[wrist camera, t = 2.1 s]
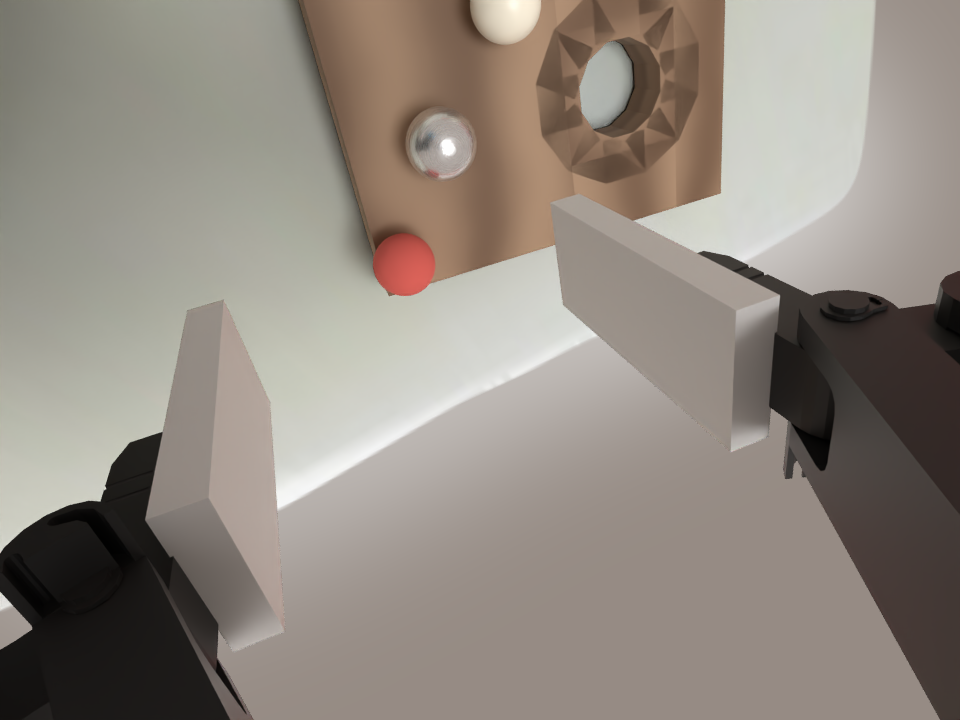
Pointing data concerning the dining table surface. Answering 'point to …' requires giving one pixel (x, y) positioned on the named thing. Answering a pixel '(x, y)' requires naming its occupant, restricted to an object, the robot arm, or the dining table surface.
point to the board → (519, 116)
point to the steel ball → (441, 143)
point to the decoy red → (404, 264)
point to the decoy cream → (505, 19)
